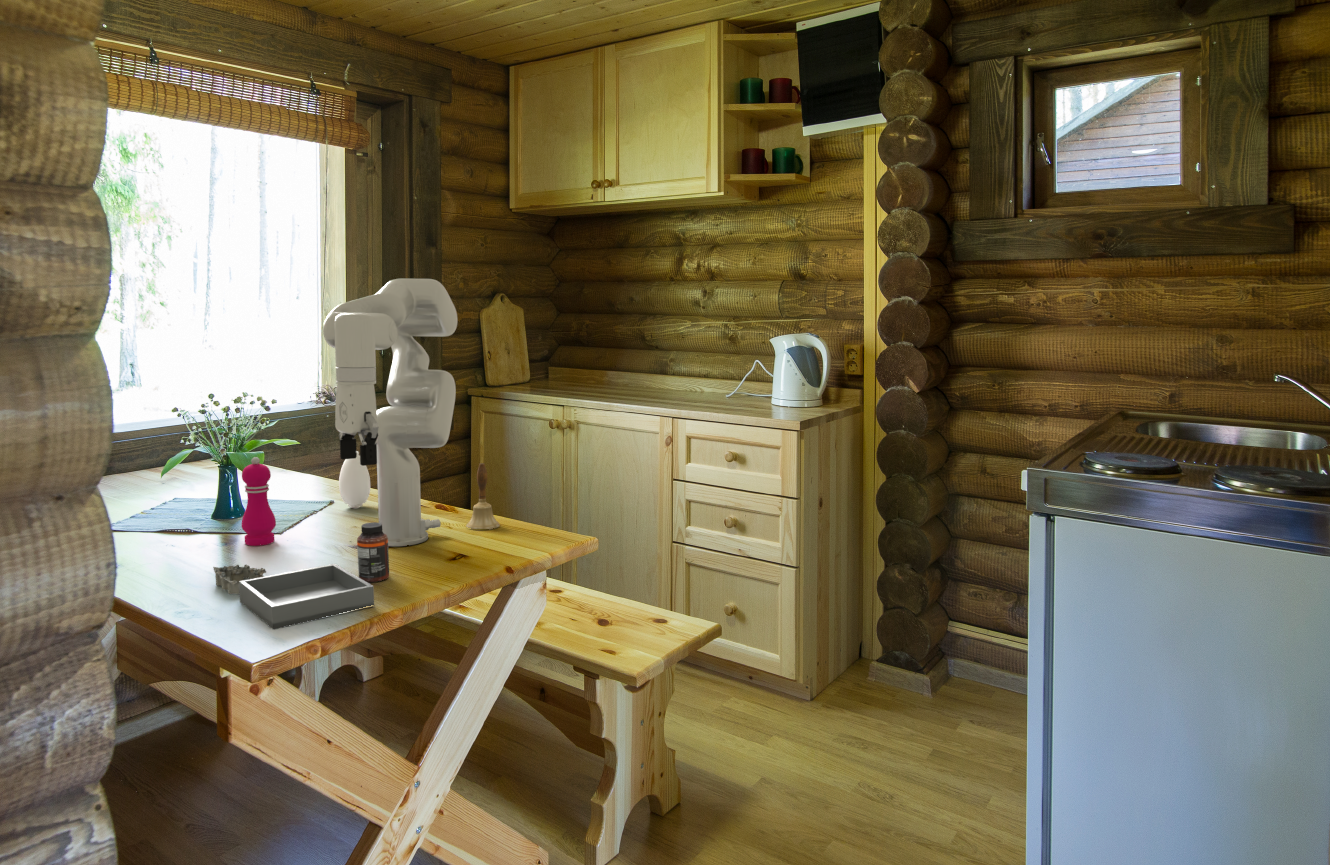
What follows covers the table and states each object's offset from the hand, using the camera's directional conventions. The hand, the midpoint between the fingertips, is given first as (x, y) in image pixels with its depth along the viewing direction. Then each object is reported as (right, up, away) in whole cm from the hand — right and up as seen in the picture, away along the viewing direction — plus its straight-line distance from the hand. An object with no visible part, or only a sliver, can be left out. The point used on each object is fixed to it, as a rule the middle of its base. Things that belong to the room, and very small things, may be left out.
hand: (358, 461), depth 179 cm
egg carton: (-22, -25, -4) cm, 33 cm away
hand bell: (+16, -18, +45) cm, 51 cm away
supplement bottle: (+2, -24, +2) cm, 24 cm away
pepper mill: (-32, -20, +27) cm, 46 cm away
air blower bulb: (-22, -15, +62) cm, 68 cm away
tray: (-5, -26, -14) cm, 30 cm away
